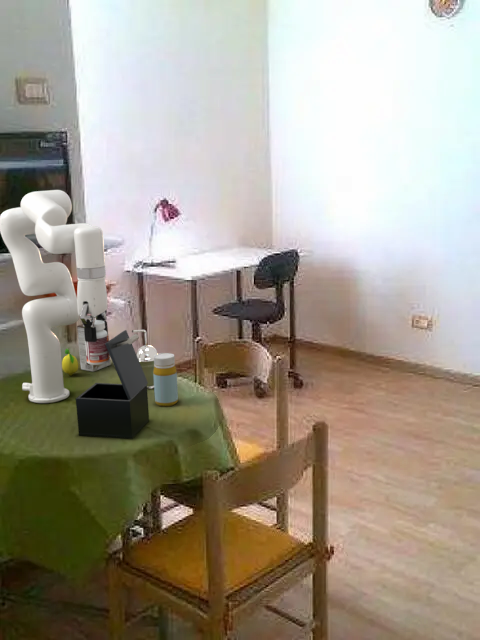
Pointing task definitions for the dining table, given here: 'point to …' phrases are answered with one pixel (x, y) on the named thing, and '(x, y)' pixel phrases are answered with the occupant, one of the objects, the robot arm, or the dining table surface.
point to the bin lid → (127, 363)
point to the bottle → (165, 379)
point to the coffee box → (83, 352)
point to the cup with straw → (147, 360)
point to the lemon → (69, 363)
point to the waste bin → (111, 411)
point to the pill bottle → (98, 346)
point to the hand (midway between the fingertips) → (96, 337)
